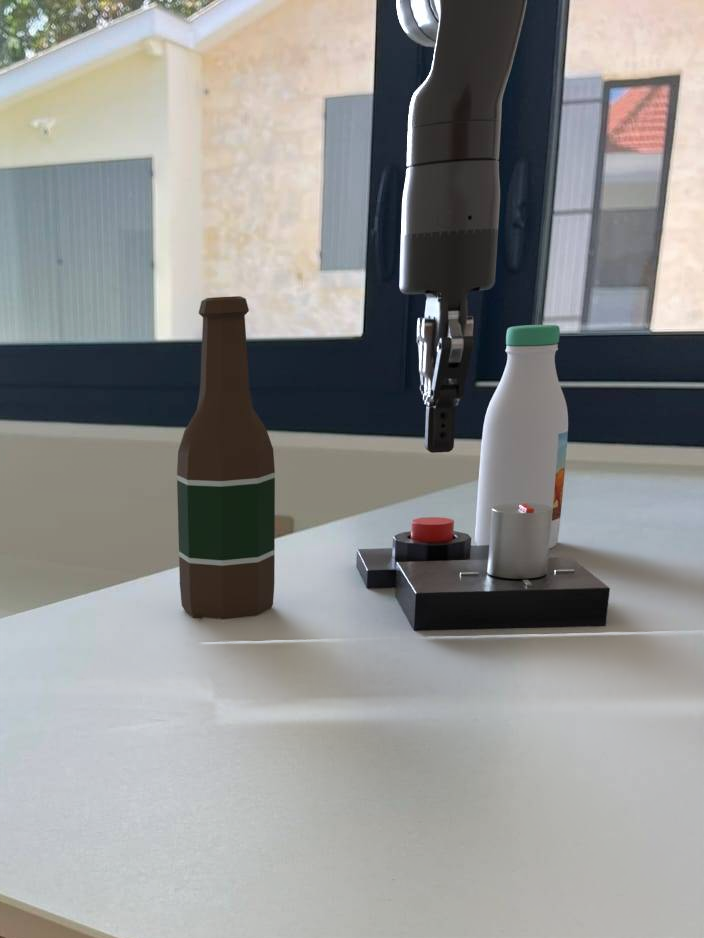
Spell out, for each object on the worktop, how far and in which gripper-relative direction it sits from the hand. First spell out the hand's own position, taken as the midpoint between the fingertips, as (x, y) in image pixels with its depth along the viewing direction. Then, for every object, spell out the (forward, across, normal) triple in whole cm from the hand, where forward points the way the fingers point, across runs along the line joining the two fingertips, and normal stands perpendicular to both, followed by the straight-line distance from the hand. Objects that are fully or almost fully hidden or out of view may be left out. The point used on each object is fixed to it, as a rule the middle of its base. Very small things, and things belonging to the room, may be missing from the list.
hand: (438, 450), depth 104 cm
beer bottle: (+11, -10, +18) cm, 23 cm away
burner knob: (+8, -13, -4) cm, 16 cm away
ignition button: (+8, 0, 0) cm, 8 cm away
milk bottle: (+11, +12, -10) cm, 19 cm away
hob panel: (+11, -13, -3) cm, 17 cm away
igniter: (+11, 0, 0) cm, 11 cm away
